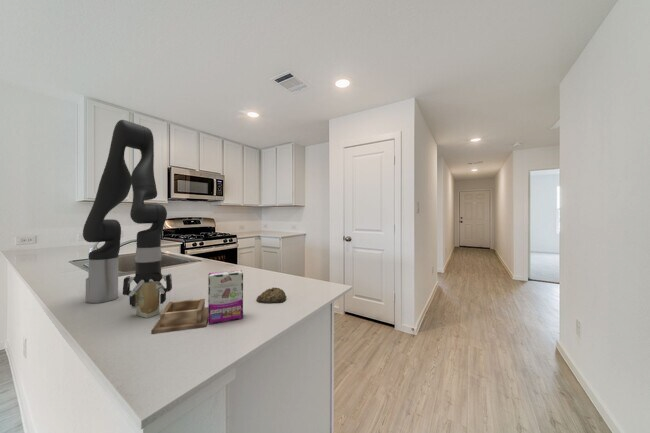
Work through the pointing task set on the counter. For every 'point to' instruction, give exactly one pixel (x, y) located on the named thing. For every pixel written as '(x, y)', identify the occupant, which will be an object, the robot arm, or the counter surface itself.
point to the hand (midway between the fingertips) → (148, 304)
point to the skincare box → (148, 299)
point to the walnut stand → (182, 316)
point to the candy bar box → (225, 296)
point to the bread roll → (272, 296)
